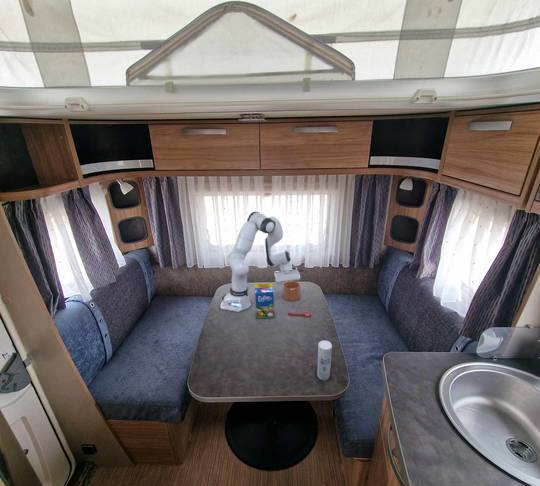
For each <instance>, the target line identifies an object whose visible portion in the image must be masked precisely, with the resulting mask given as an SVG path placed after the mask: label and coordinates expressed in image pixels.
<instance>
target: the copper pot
mask: <svg viewBox="0 0 540 486" xmlns="http://www.w3.org/2000/svg"><path fill="white" fill-rule="evenodd" d="M283 298H284V299H285V300H286V301H290V302H293V301H295V302H296V301H297V300H299V299H300V298H301V284H300V283H299V282H298V281H289V282H286V283H285V282H283Z"/></svg>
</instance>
